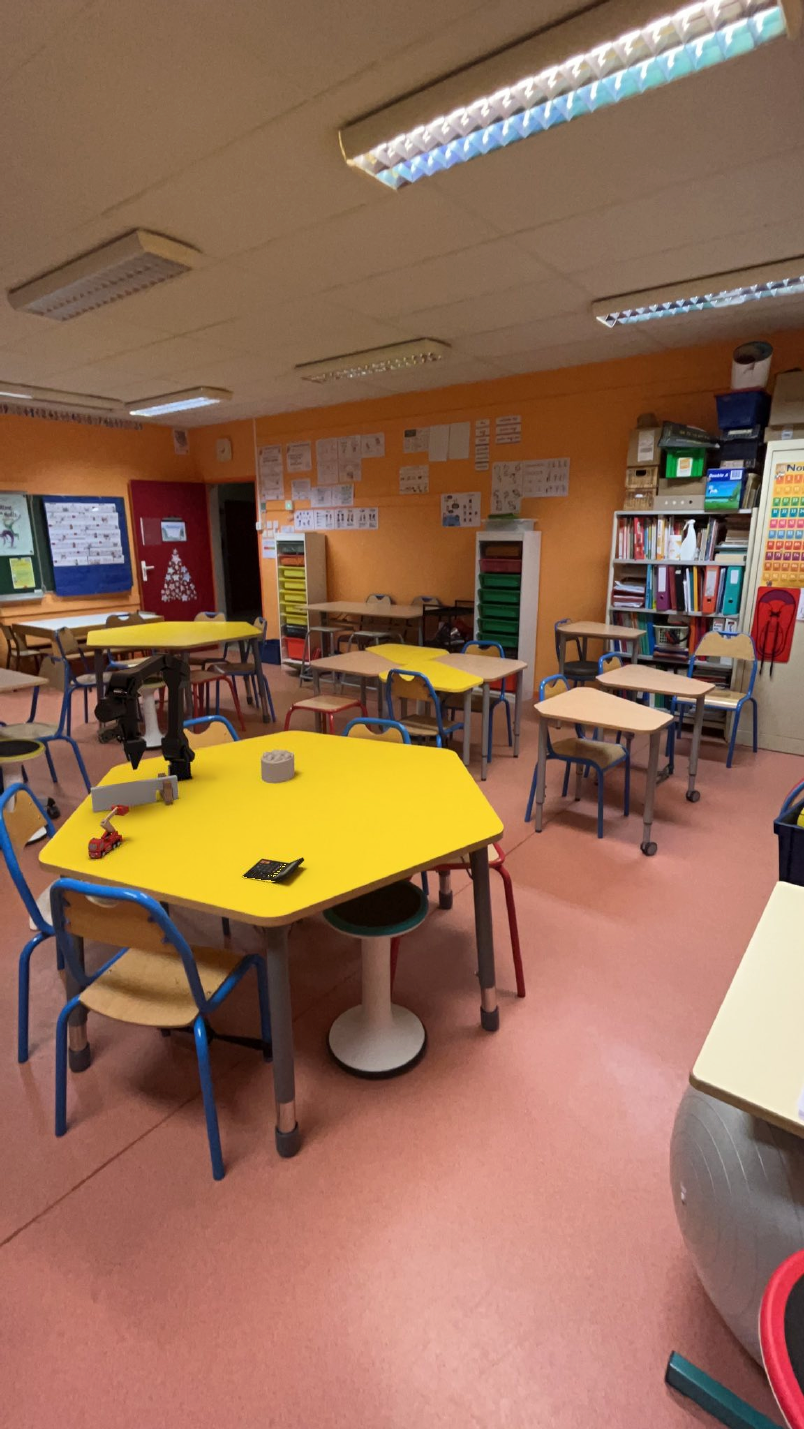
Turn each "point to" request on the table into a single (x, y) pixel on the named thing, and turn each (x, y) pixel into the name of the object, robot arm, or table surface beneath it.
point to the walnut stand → (166, 790)
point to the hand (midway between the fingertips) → (132, 765)
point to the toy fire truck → (107, 834)
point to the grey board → (130, 793)
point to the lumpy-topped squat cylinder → (277, 766)
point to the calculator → (272, 869)
